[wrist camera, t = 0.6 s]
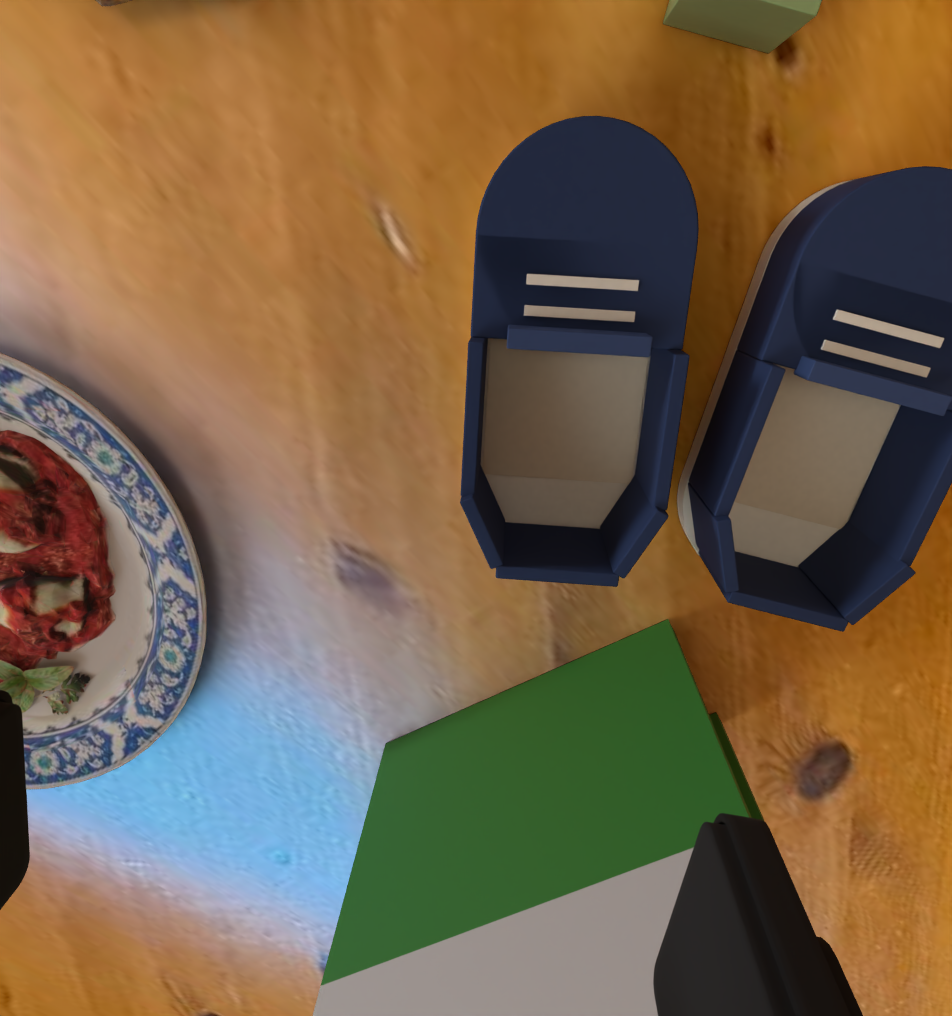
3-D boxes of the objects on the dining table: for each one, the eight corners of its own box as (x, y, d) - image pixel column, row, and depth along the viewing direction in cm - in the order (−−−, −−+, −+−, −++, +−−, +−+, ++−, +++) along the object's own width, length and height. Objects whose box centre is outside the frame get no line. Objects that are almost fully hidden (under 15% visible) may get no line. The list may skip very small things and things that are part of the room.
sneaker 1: (487, 130, 32) (479, 99, 26) (686, 140, 32) (729, 112, 25) (465, 536, 38) (454, 594, 32) (631, 548, 38) (655, 609, 32)
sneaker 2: (796, 155, 32) (867, 131, 25) (985, 207, 32) (1104, 196, 26) (653, 550, 38) (681, 611, 32) (812, 590, 38) (873, 660, 32)
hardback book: (668, 619, 39) (872, 1117, 17) (722, 725, 41) (972, 1300, 19) (385, 743, 43) (237, 1294, 20) (448, 835, 45) (377, 1431, 22)
